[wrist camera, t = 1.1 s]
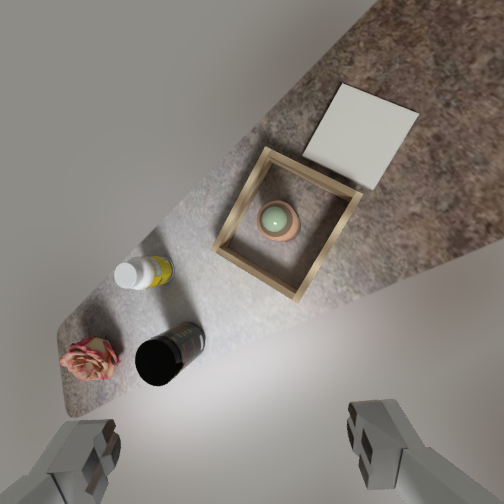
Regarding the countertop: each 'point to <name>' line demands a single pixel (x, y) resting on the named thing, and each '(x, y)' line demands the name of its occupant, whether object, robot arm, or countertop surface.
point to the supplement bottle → (144, 272)
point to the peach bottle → (278, 221)
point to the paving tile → (359, 136)
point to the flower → (90, 359)
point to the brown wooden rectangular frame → (245, 200)
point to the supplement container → (169, 353)
